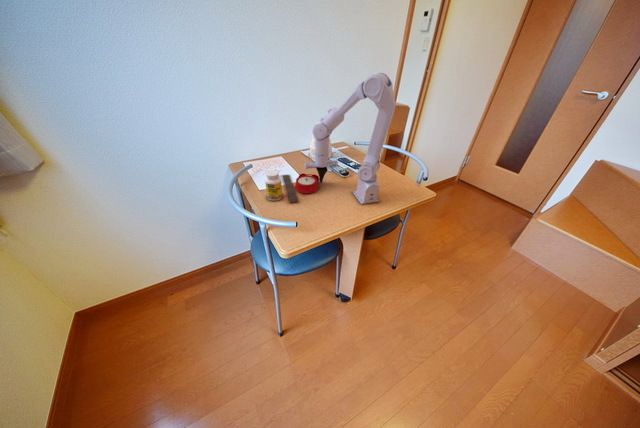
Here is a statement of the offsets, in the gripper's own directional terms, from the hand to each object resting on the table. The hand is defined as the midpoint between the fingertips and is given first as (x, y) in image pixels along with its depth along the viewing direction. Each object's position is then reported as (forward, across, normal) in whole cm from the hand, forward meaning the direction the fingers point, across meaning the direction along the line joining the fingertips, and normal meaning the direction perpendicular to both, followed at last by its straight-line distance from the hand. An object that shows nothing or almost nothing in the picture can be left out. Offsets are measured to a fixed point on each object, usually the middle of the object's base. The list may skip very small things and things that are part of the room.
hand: (320, 181), depth 100 cm
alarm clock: (+2, +6, 0) cm, 7 cm away
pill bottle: (+2, +22, +6) cm, 22 cm away
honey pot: (+2, -9, -34) cm, 35 cm away
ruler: (+1, +14, 0) cm, 15 cm away
